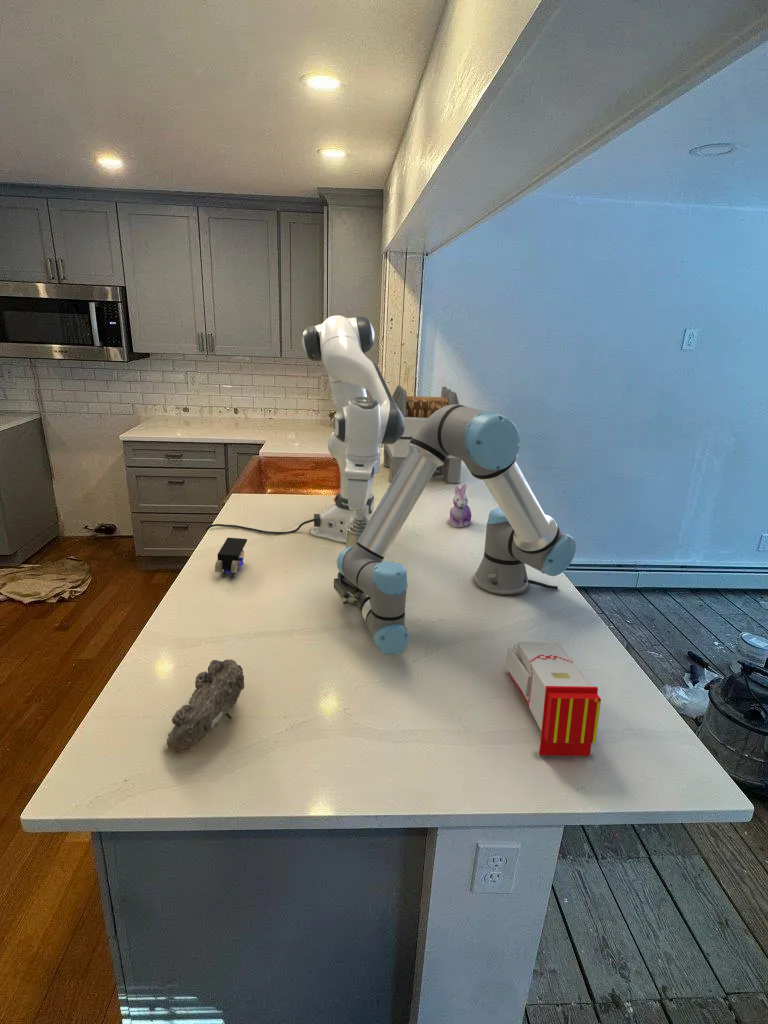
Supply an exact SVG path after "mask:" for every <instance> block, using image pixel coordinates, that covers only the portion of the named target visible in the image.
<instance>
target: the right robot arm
mask: <svg viewBox="0 0 768 1024" xmlns="http://www.w3.org/2000/svg"><path fill="white" fill-rule="evenodd" d="M519 442H521V437H520V433H519V430H518V427H517V425H516V424H515V423H514V421H512V420H511V419H510V418H508V417H506V416H504V415H502V414H500V413H497V412H494V411H486V410H483V409H479V408H474V407H470V406H466V405H463V404H459V405H458V404H453V405H448V406H445V407H442V408H440V409H439V410H437V411H436V412H434V413H433V414H432V415H431V416H429V417H428V418H427V419H426V420H425V421H424V423H423V424H422V425H421V426H420V427H419V429H418V430H417V432H416V433H415V435H414V436H413V438H412V439H411V441H410V443H409V445H408V446H409V453H408V455H407V456H406V458H405V460H404V462H403V463H402V465H401V467H400V469H399V470H398V472H397V474H396V475H395V477H394V479H393V481H392V482H391V481H390V484H389V485H388V487H387V489H386V491H385V493H384V494H383V496H382V498H381V499H380V500H379V501H380V502H379V503H378V504H377V507H376V508H375V510H374V511H373V515H372V517H371V519H370V520H369V522H368V524H367V525H366V527H365V529H364V531H363V532H362V534H361V536H360V538H359V539H358V541H357V543H356V544H355V546H354V547H347V548H346V547H345V548H344V549H343V550H342V551H341V552H340V553H339V554H338V556H337V559H336V567H337V570H338V573H337V577H336V578H333V589H334V590H335V592H336V593H337V594H338V595H339V597H340V598H341V599H342V603H343V605H348V604H349V603H350V601H354V603H356V604H355V605H357V607H358V609H359V610H358V611H359V612H360V614H361V616H362V619H363V621H364V622H365V625H366V628H367V629H368V631H369V634H370V635H371V638H372V641H373V643H374V645H375V647H376V648H377V649H378V651H379V652H381V654H383V655H386V656H396V655H399V654H401V653H403V652H404V651H405V650H406V649H407V648H408V645H409V644H410V635H409V632H408V628H407V627H406V626H405V620H406V602H407V591H408V571H407V569H406V567H405V566H404V565H403V564H401V563H399V562H395V561H390V560H389V561H384V559H385V557H386V555H387V554H388V553H389V550H390V549H391V547H392V545H393V543H394V542H395V540H396V538H397V537H398V535H399V533H400V531H401V530H402V528H403V526H404V525H405V522H406V521H407V520H408V517H409V516H410V514H411V512H412V510H413V509H414V507H415V505H416V504H417V502H418V500H419V499H420V497H421V495H422V494H423V492H424V490H425V488H426V486H427V485H428V484H429V481H430V480H431V478H432V476H433V475H434V473H435V472H436V470H437V469H438V468H437V467H438V466H442V465H443V464H444V463H445V461H446V459H447V458H448V457H449V456H450V455H451V456H454V457H457V458H460V459H461V460H462V462H463V464H464V465H465V466H466V468H467V470H468V471H469V472H470V474H471V476H472V477H473V478H475V479H477V480H480V481H483V482H484V484H485V486H486V487H487V489H488V491H489V492H490V494H491V495H492V497H493V499H494V501H495V503H496V504H497V505H498V507H496V508H494V509H491V510H490V511H489V513H488V517H487V522H486V531H485V541H484V552H483V557H482V559H481V561H480V563H479V565H478V568H477V569H476V571H475V575H474V582H475V585H477V587H479V588H480V589H482V590H483V591H486V592H488V593H491V594H494V595H499V596H516V595H521V594H522V593H525V592H526V591H527V590H528V586H529V584H530V585H534V586H538V587H542V588H545V589H548V590H557V591H558V589H559V587H558V585H550V584H547V583H546V584H545V583H543V582H539V581H536V580H533V579H528V573H527V567H526V566H528V567H531V568H533V569H534V570H537V571H538V572H541V574H545V575H547V576H550V577H556V576H558V575H559V576H560V575H561V574H563V573H564V572H565V571H566V570H567V569H568V567H569V566H570V565H571V563H572V562H573V559H574V558H575V554H576V551H577V542H576V540H575V538H574V537H573V536H571V535H570V534H568V533H564V532H563V531H562V530H561V529H560V526H559V525H558V523H557V522H556V520H555V519H554V518H553V517H552V516H551V515H548V514H545V512H544V510H543V509H542V506H541V505H540V503H539V501H538V500H537V498H536V495H535V494H534V492H533V491H532V489H531V487H530V484H529V483H528V481H527V479H526V478H525V476H524V474H523V472H522V470H521V468H520V467H519V465H518V462H517V459H518V456H519V455H518V454H519V452H520V448H521V447H520V445H519ZM350 593H351V594H352V595H354V596H351V595H350ZM354 603H353V604H354Z"/></svg>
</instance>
